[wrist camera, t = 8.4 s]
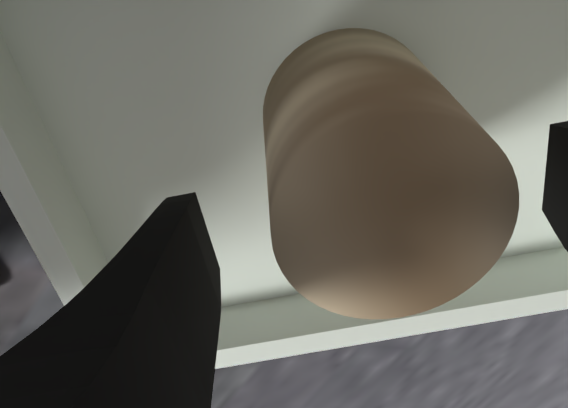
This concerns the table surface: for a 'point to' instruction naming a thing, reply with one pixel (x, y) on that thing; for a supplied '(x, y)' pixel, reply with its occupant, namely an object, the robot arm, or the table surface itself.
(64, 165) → the tray
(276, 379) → the table surface
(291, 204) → the beige rounded cylinder
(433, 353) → the table surface
